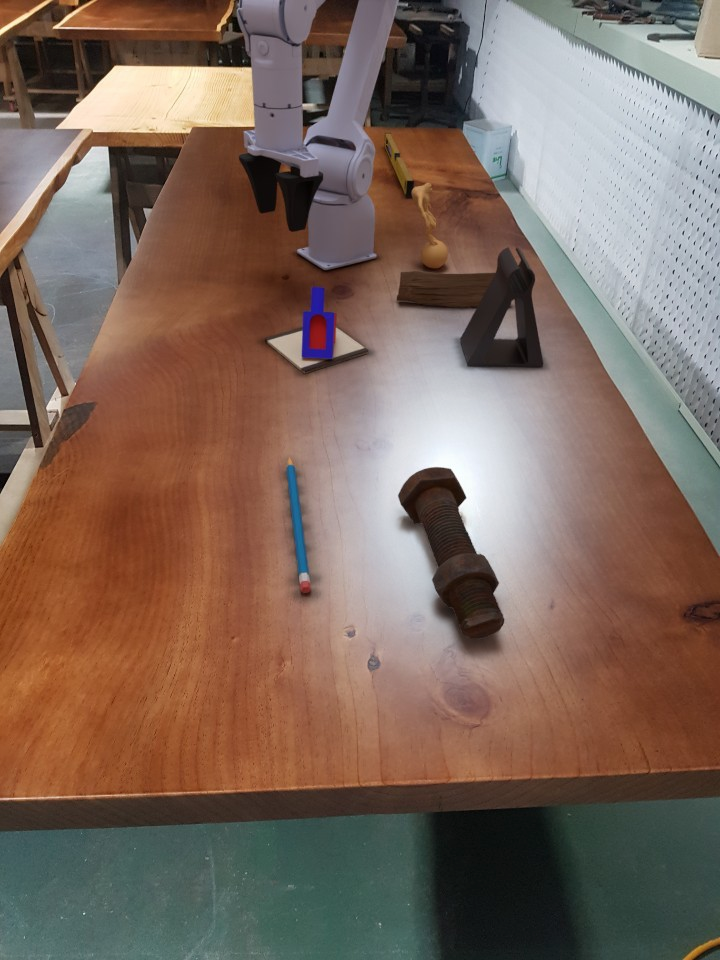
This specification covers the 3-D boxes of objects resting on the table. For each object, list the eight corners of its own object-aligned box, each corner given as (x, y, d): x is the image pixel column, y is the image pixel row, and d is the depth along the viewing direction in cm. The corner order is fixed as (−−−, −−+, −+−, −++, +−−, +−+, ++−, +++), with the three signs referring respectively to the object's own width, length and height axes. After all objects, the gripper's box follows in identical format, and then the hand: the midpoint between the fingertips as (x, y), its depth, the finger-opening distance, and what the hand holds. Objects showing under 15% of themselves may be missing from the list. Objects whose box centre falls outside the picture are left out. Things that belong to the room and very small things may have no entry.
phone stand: (531, 342, 88) (551, 248, 81) (542, 367, 84) (565, 269, 76) (459, 341, 88) (473, 246, 80) (466, 366, 83) (481, 267, 76)
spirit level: (412, 198, 130) (414, 180, 128) (405, 197, 130) (406, 180, 128) (390, 147, 156) (391, 132, 154) (384, 147, 155) (384, 132, 154)
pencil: (300, 593, 55) (300, 587, 55) (285, 459, 68) (284, 453, 68) (310, 592, 55) (311, 586, 55) (293, 459, 68) (293, 453, 68)
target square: (327, 323, 90) (326, 320, 90) (368, 353, 85) (368, 350, 85) (264, 341, 86) (264, 337, 86) (304, 373, 81) (304, 370, 80)
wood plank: (508, 302, 97) (514, 267, 94) (511, 309, 96) (518, 274, 93) (396, 302, 96) (399, 266, 93) (397, 308, 95) (400, 272, 91)
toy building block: (334, 358, 86) (337, 289, 84) (332, 358, 82) (335, 287, 80) (305, 356, 86) (307, 288, 84) (301, 357, 82) (304, 285, 80)
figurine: (446, 279, 102) (456, 193, 95) (404, 276, 102) (411, 190, 95) (445, 257, 109) (455, 175, 101) (406, 254, 109) (413, 172, 101)
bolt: (466, 662, 53) (416, 521, 64) (528, 633, 52) (467, 496, 63) (437, 624, 49) (389, 482, 60) (503, 593, 48) (442, 454, 59)
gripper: (218, 94, 86) (227, 208, 94) (279, 120, 77) (283, 244, 85) (269, 89, 89) (274, 200, 98) (334, 114, 80) (332, 234, 89)
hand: (281, 220), depth 92 cm, fingers open, 7 cm apart
